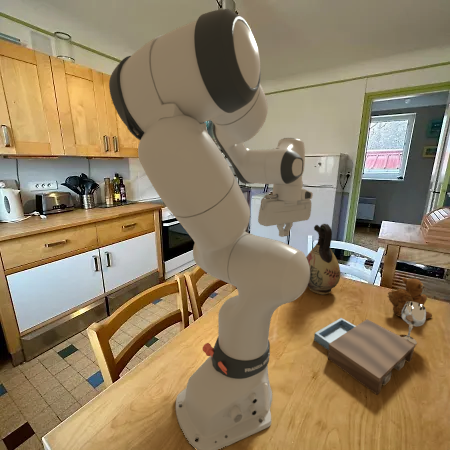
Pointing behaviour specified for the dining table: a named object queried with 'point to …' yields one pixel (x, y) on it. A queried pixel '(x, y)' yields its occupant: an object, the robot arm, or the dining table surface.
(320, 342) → the tray
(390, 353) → the wooden drawer box
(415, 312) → the wineglass
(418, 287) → the stuffed squirrel
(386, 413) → the dining table surface
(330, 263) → the ceramic jug
